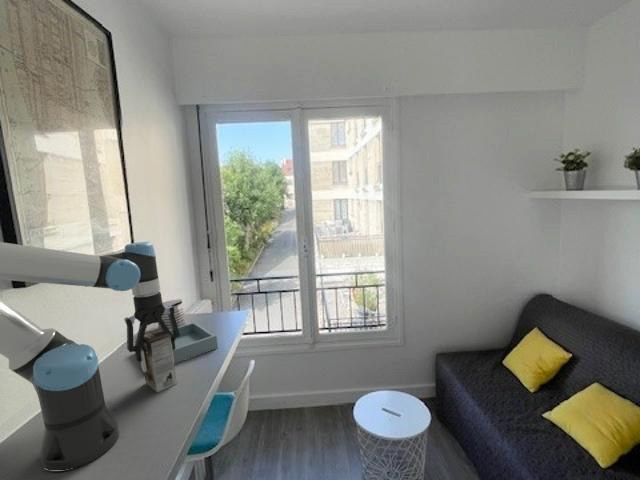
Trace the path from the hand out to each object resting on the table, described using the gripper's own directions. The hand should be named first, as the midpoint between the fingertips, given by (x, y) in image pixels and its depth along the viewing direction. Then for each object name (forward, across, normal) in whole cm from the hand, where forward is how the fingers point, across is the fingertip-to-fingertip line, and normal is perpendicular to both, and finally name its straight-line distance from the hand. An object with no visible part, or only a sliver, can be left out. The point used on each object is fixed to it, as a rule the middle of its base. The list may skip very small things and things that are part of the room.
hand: (158, 365), depth 107 cm
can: (+6, -18, -48) cm, 52 cm away
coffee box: (+6, 0, 0) cm, 6 cm away
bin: (+6, -12, -21) cm, 25 cm away
